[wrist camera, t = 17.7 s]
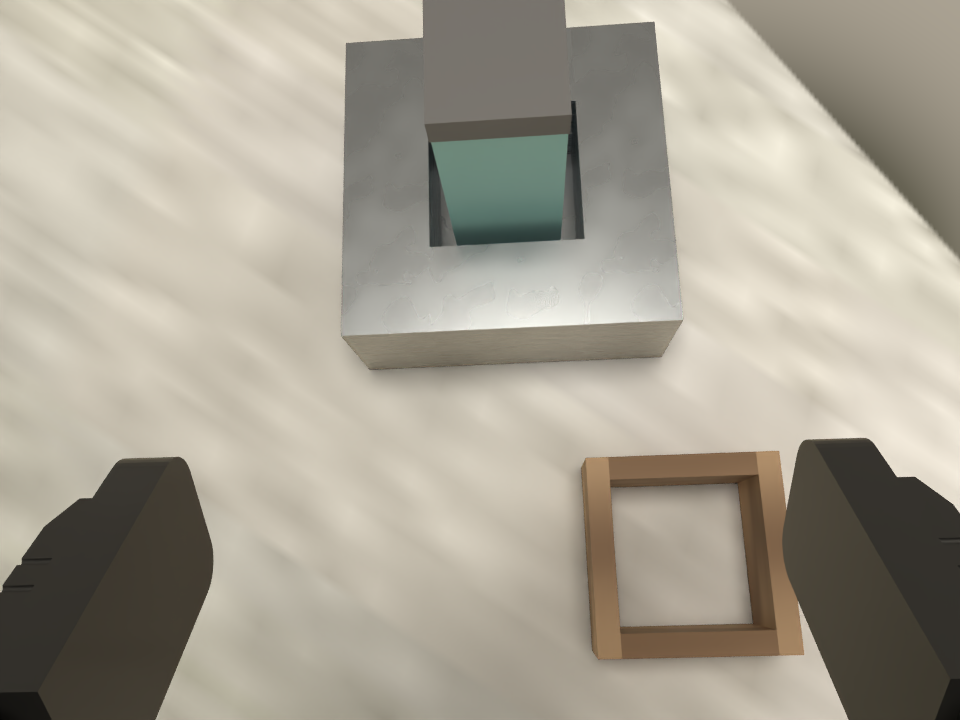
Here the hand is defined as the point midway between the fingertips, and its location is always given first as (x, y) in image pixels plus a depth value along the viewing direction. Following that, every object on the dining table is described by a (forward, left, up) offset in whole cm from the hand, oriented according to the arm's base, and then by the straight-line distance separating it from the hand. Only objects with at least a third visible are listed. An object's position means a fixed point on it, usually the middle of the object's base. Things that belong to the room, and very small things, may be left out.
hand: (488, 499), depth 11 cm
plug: (+11, +7, -20) cm, 24 cm away
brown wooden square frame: (+2, -5, -21) cm, 22 cm away
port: (+11, +7, -21) cm, 25 cm away
